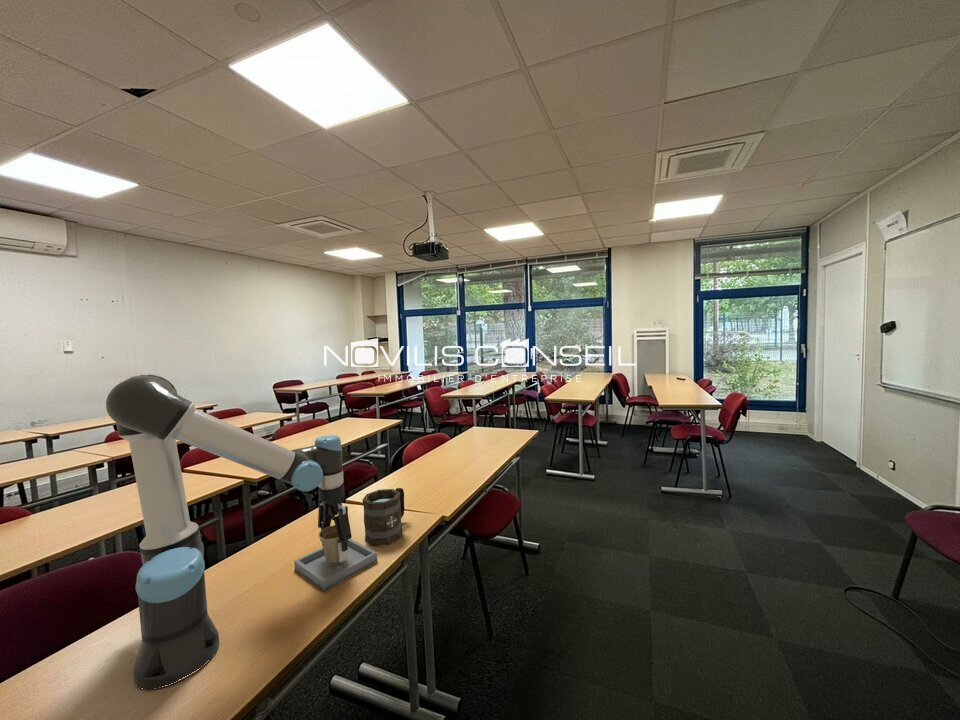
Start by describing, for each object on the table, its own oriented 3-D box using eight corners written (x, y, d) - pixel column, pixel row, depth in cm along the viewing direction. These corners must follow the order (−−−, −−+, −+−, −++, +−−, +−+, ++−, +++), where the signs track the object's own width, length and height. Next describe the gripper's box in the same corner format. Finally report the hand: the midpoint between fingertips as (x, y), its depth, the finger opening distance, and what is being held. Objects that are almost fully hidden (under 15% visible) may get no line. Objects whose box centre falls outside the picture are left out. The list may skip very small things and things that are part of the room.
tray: (324, 592, 107) (323, 581, 107) (294, 570, 119) (294, 560, 119) (377, 561, 121) (376, 552, 121) (346, 544, 133) (346, 536, 133)
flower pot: (313, 562, 118) (311, 535, 118) (337, 546, 126) (335, 521, 126) (334, 569, 114) (332, 541, 113) (357, 553, 122) (356, 527, 122)
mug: (388, 549, 128) (385, 506, 128) (356, 542, 134) (353, 501, 133) (419, 522, 146) (416, 484, 146) (390, 518, 152) (387, 481, 151)
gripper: (361, 488, 115) (365, 560, 116) (325, 475, 128) (329, 540, 130) (338, 497, 109) (343, 572, 110) (303, 482, 123) (307, 550, 124)
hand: (335, 555), depth 120 cm, fingers closed on flower pot, 9 cm apart
